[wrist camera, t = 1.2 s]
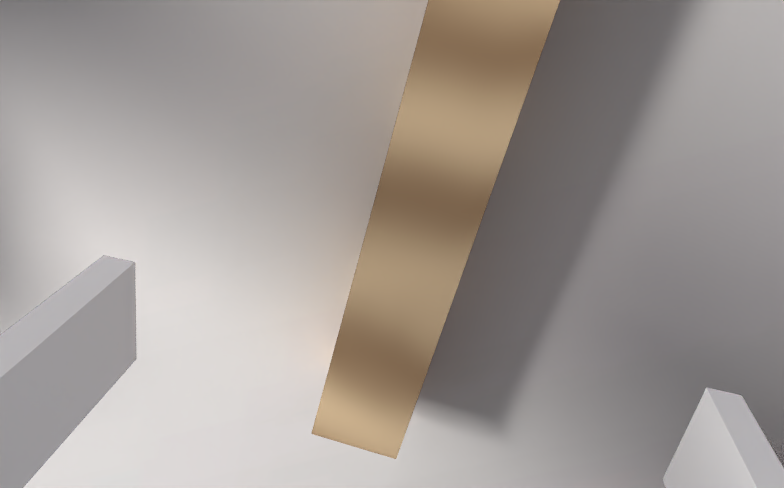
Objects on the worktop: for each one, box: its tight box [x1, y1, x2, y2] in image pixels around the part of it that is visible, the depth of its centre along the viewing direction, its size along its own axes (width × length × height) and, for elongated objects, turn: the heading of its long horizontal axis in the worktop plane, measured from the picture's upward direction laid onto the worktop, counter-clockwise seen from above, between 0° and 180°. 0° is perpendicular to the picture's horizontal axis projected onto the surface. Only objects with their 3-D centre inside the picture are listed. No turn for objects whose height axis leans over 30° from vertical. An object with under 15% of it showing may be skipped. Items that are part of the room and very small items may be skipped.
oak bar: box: [312, 0, 560, 459], centre depth 26 cm, size 24×4×5 cm, turn 165°
